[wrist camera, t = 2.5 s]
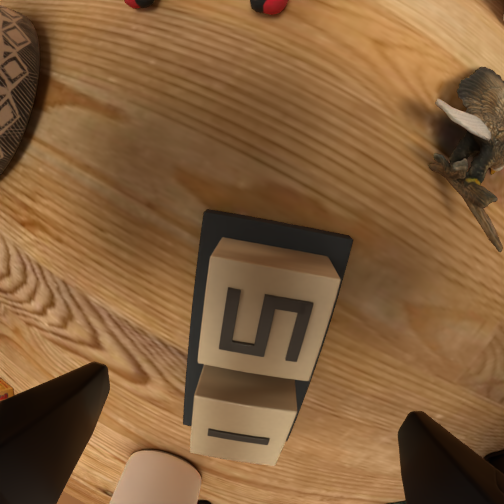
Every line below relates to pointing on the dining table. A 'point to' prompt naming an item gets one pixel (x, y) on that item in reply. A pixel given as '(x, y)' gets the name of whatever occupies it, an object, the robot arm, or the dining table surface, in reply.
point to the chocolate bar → (5, 390)
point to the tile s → (266, 309)
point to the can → (157, 480)
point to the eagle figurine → (476, 143)
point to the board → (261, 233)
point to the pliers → (268, 3)
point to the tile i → (242, 415)
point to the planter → (16, 79)
